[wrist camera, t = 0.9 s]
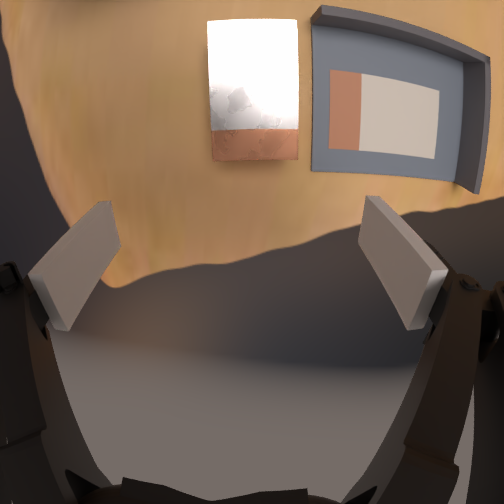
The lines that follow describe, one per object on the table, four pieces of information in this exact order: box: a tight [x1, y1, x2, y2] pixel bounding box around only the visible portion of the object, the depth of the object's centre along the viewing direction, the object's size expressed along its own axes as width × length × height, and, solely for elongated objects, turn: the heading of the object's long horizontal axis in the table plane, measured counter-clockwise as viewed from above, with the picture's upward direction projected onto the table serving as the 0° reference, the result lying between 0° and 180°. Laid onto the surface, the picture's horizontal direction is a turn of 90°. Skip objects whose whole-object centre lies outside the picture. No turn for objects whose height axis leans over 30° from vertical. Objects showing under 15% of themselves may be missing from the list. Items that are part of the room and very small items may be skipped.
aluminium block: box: [208, 19, 298, 161], centre depth 26 cm, size 14×8×8 cm, turn 1°
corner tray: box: [311, 5, 491, 194], centre depth 27 cm, size 20×24×6 cm
